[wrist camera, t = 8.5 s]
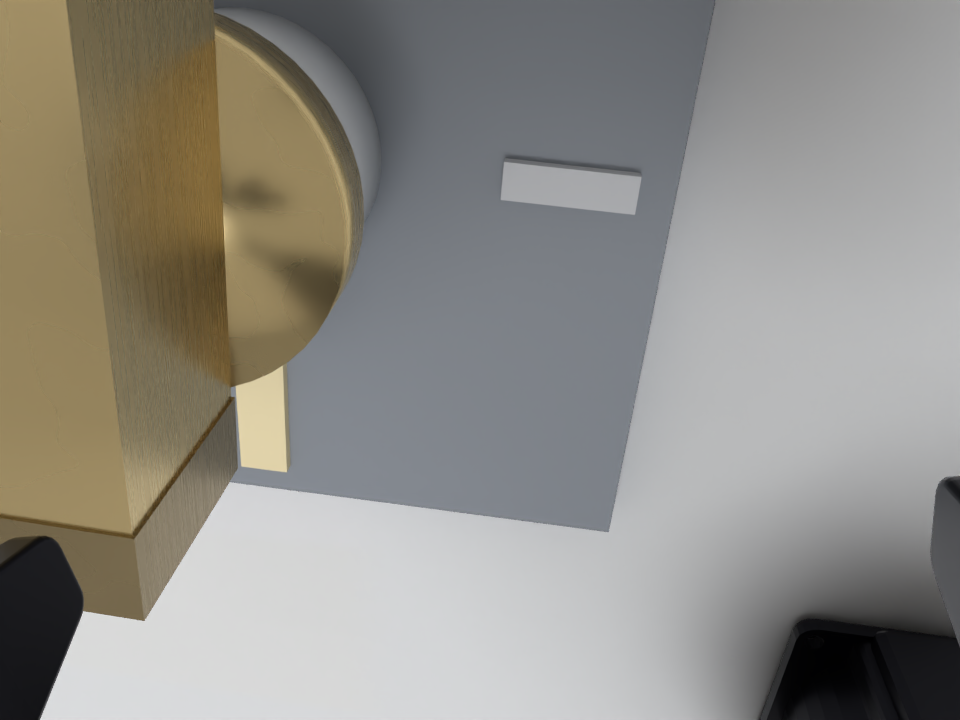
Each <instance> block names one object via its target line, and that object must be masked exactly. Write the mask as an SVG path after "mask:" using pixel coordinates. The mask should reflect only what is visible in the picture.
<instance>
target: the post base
mask: <svg viewBox="0 0 960 720" xmlns="http://www.w3.org/2000/svg"><path fill="white" fill-rule="evenodd" d="M213 1H214V12H215V13H218V14H221V15H224V16H226V17H228V18H231V19H233V20H235V21H237V22H239V23H241V24H243V25H245V26H247V27H249V28H251V29H252V30H254V31H255V32H257V33H258V34H260V35H261V36H263V37H264V38H266V39H267V40H269V41H270V42H272V43H273V44H275V45H276V46H277V47H278V48H279V49H281V50H282V51H283V52H284V53H285V54H286V55H288V56H289V57H290V58H291V59H292V60H294V61H295V62H296V63H297V64H298V66H299V67H300V68H301V69H302V70H303V71H304V72H305V73H306V74H307V75H308V76H309V77H310V78H311V79H312V80H313V82H314V83H315V84H316V86H317V87H318V88H319V90H320V91H321V92H322V94H323V95H324V96H325V98H326V99H327V100H328V102H329V103H330V105H331V107H332V108H333V110H334V112H335V114H336V115H337V117H338V119H339V120H340V122H341V124H342V126H343V128H344V130H345V133H346V135H347V137H348V140H349V142H350V144H351V147H352V149H353V152H354V155H355V159H356V162H357V166H358V169H359V173H360V178H361V184H362V191H363V197H364V227H363V236H362V244H361V247H360V251H359V255H358V259H357V263H356V265H355V268H354V270H353V273H352V275H351V277H350V280H349V282H348V284H347V285H346V287H345V289H344V290H343V292H342V294H341V295H340V297H339V299H338V300H337V302H336V303H335V305H334V307H333V308H332V310H331V311H330V313H329V315H328V316H327V318H326V319H325V321H324V323H323V324H322V326H321V327H320V329H319V331H318V332H317V334H316V335H315V336H314V337H313V338H312V339H311V341H310V342H309V343H308V344H307V345H306V347H305V348H304V349H303V350H302V351H300V352H299V353H298V354H297V355H296V356H295V357H293V358H292V359H291V360H290V361H289V362H287V363H286V364H284V365H283V366H281V367H280V368H278V369H276V370H275V371H273V372H272V373H270V374H267V375H265V376H263V377H261V378H258V379H256V380H254V381H251V382H248V383H244V384H241V385H237V386H234V387H231V397H235V410H236V433H237V457H238V469H237V471H236V472H235V474H234V476H233V477H232V479H231V480H230V482H234V483H241V484H249V485H256V486H264V487H272V488H279V489H287V490H294V491H302V492H309V493H317V494H324V495H332V496H340V497H347V498H355V499H362V500H370V501H377V502H385V503H393V504H400V505H408V506H415V507H423V508H430V509H438V510H446V511H453V512H461V513H468V514H476V515H483V516H491V517H498V518H506V519H514V520H521V521H529V522H536V523H544V524H551V525H559V526H567V527H574V528H582V529H589V530H597V531H604V532H609V527H610V522H611V517H612V512H613V507H614V502H615V497H616V492H617V487H618V482H619V478H620V473H621V468H622V463H623V458H624V453H625V448H626V443H627V438H628V433H629V428H630V423H631V418H632V413H633V408H634V403H635V398H636V393H637V388H638V383H639V378H640V373H641V368H642V363H643V358H644V353H645V348H646V343H647V338H648V333H649V328H650V323H651V318H652V313H653V308H654V303H655V298H656V293H657V288H658V283H659V278H660V273H661V268H662V263H663V258H664V254H665V249H666V244H667V239H668V234H669V229H670V224H671V219H672V214H673V209H674V204H675V199H676V194H677V189H678V184H679V179H680V174H681V169H682V164H683V159H684V154H685V149H686V144H687V139H688V134H689V129H690V124H691V119H692V114H693V109H694V104H695V99H696V94H697V89H698V84H699V79H700V74H701V69H702V64H703V59H704V54H705V49H706V44H707V39H708V34H709V30H710V25H711V20H712V15H713V10H714V5H715V0H213Z"/></svg>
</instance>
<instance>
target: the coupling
mask: <svg viewBox="0 0 960 720" xmlns="http://www.w3.org/2000/svg"><path fill="white" fill-rule="evenodd" d="M363 227H364V197H363V191H362V184H361V178H360V173H359V169H358V166H357V162H356V159H355V155H354V152H353V149H352V147H351V144H350V142H349V140H348V137H347V135H346V133H345V130H344V128H343V126H342V124H341V122H340V120H339V119H338V117H337V115H336V114H335V112H334V110H333V108H332V107H331V105H330V103H329V102H328V100H327V99H326V98H325V96H324V95H323V94H322V92H321V91H320V90H319V88H318V87H317V86H316V84H315V83H314V82H313V80H312V79H311V78H310V77H309V76H308V75H307V74H306V73H305V72H304V71H303V70H302V69H301V68H300V67H299V66H298V64H297V63H296V62H295V61H294V60H292V59H291V58H290V57H289V56H288V55H286V54H285V53H284V52H283V51H282V50H281V49H279V48H278V47H277V46H276V45H275V44H273V43H272V42H270V41H269V40H267V39H266V38H264V37H263V36H261V35H260V34H258V33H257V32H255V31H254V30H252V29H251V28H249V27H247V26H245V25H243V24H241V23H239V22H237V21H235V20H233V19H231V18H228V17H226V16H224V15H221V14H218V13H215V12H214V1H213V0H0V544H2V543H4V542H5V541H7V540H10V539H12V538H16V537H25V536H41V535H45V536H49V537H52V538H53V539H55V540H56V541H57V542H58V543H59V545H60V546H61V548H62V550H63V552H64V554H65V556H66V558H67V560H68V562H69V565H70V567H71V569H72V571H73V573H74V575H75V577H76V579H77V581H78V583H79V585H80V587H81V589H82V592H83V597H84V608H83V611H86V612H93V613H99V614H105V615H111V616H117V617H124V618H130V619H136V620H142V621H145V619H146V617H147V616H148V614H149V613H150V611H151V609H152V608H153V606H154V604H155V603H156V601H157V599H158V598H159V596H160V595H161V593H162V591H163V590H164V588H165V586H166V585H167V583H168V582H169V580H170V578H171V577H172V575H173V573H174V572H175V570H176V568H177V567H178V565H179V564H180V562H181V560H182V559H183V557H184V555H185V554H186V552H187V551H188V549H189V547H190V546H191V544H192V542H193V541H194V539H195V538H196V536H197V534H198V533H199V531H200V529H201V528H202V526H203V524H204V523H205V521H206V520H207V518H208V516H209V515H210V513H211V511H212V510H213V508H214V507H215V505H216V503H217V502H218V500H219V498H220V497H221V495H222V493H223V492H224V490H225V489H226V487H227V485H228V484H229V482H230V480H231V479H232V477H233V476H234V474H235V472H236V471H237V469H238V457H237V433H236V410H235V397H231V387H234V386H237V385H241V384H244V383H248V382H251V381H254V380H256V379H258V378H261V377H263V376H265V375H267V374H270V373H272V372H273V371H275V370H276V369H278V368H280V367H281V366H283V365H284V364H286V363H287V362H289V361H290V360H291V359H292V358H293V357H295V356H296V355H297V354H298V353H299V352H300V351H302V350H303V349H304V348H305V347H306V345H307V344H308V343H309V342H310V341H311V339H312V338H313V337H314V336H315V335H316V334H317V332H318V331H319V329H320V327H321V326H322V324H323V323H324V321H325V319H326V318H327V316H328V315H329V313H330V311H331V310H332V308H333V307H334V305H335V303H336V302H337V300H338V299H339V297H340V295H341V294H342V292H343V290H344V289H345V287H346V285H347V284H348V282H349V280H350V277H351V275H352V273H353V270H354V268H355V265H356V263H357V259H358V255H359V251H360V247H361V244H362V236H363Z"/></svg>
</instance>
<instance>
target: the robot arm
mask: <svg viewBox="0 0 960 720" xmlns="http://www.w3.org/2000/svg"><path fill="white" fill-rule="evenodd" d="M931 561H932V567H933V572H934V575H935V578H936V581H937V584H938V587H939V590H940V592H941V595H942V598H943V601H944V604H945V607H946V609H947V612H948V615H949V618H950V621H951V624H952V626H953V629H954V632H955V635H956V638H953V637H946V636H938V635H931V634H924V633H916V632H909V631H902V630H894V629H887V628H879V627H872V626H865V625H857V624H850V623H843V622H835V621H828V620H821V619H806V620H803V621H801V622H799V623H798V624H796V625H795V627H794V628H793V631H792V633H791V636H790V639H789V641H788V644H787V647H786V650H785V652H784V655H783V658H782V661H781V663H780V666H779V669H778V672H777V674H776V677H775V680H774V682H773V685H772V688H771V691H770V693H769V696H768V699H767V702H766V704H765V707H764V710H763V712H762V715H761V718H760V720H960V476H953V477H945V478H944V479H943V480H941V481H940V482H939V484H938V487H937V489H936V495H935V506H934V517H933V528H932V539H931ZM83 608H84V597H83V592H82V589H81V587H80V585H79V583H78V581H77V579H76V577H75V575H74V573H73V571H72V569H71V567H70V565H69V562H68V560H67V558H66V556H65V554H64V552H63V550H62V548H61V546H60V545H59V543H58V542H57V541H56V540H55V539H53V538H52V537H49V536H45V535H41V536H25V537H16V538H12V539H10V540H7V541H5V542H4V543H2V544H0V720H40V718H41V716H42V713H43V711H44V708H45V706H46V703H47V701H48V698H49V696H50V693H51V691H52V688H53V686H54V683H55V681H56V678H57V676H58V673H59V671H60V668H61V666H62V663H63V661H64V659H65V656H66V654H67V651H68V649H69V646H70V644H71V641H72V639H73V636H74V634H75V631H76V629H77V626H78V624H79V621H80V619H81V616H82V613H83ZM811 636H817V637H814V638H809V637H811Z"/></svg>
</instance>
